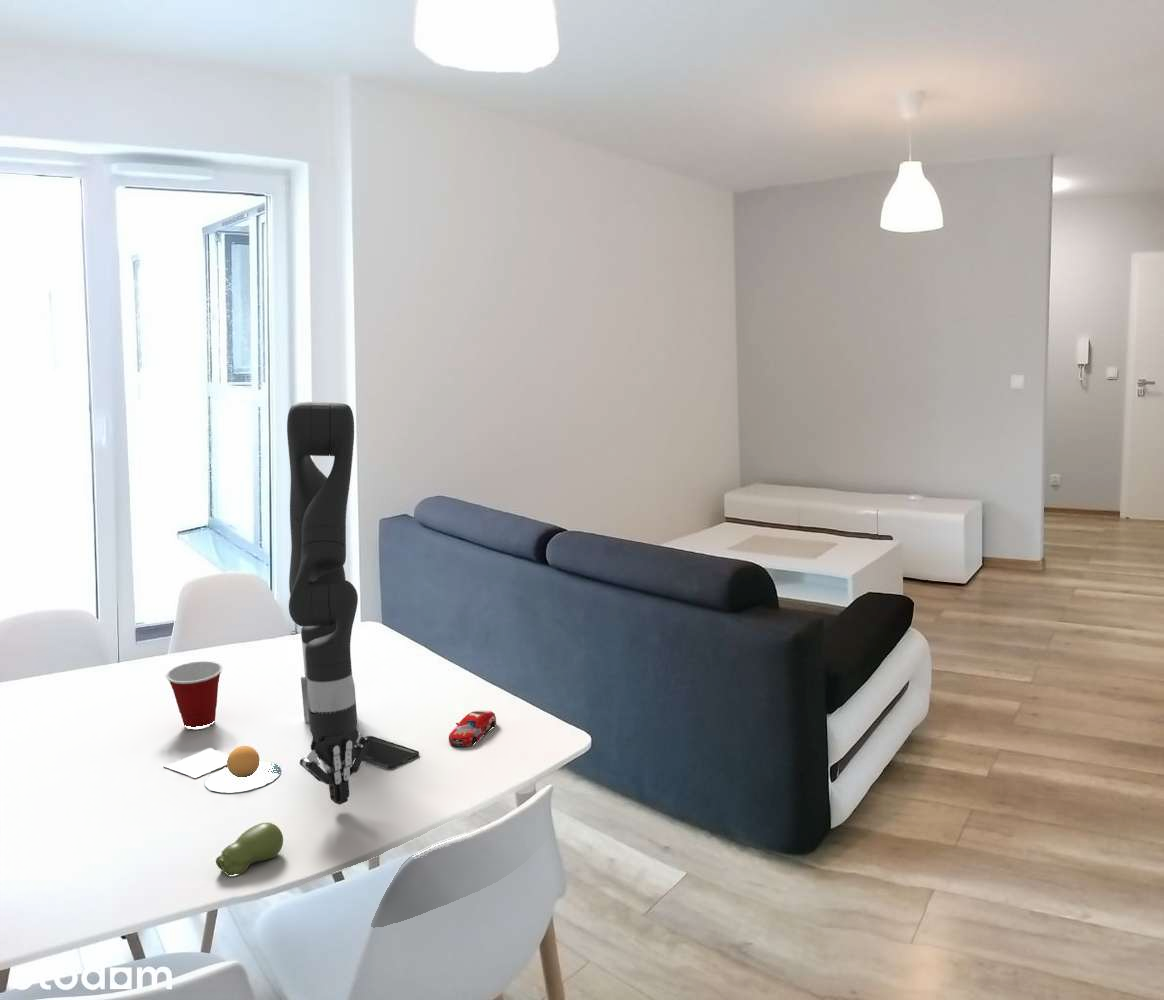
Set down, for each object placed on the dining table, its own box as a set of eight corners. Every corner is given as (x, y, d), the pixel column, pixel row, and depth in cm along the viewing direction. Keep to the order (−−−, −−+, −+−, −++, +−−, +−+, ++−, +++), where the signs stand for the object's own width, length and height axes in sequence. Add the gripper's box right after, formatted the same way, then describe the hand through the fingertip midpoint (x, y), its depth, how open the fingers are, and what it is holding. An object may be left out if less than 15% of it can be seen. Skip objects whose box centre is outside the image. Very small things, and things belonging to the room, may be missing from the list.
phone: (368, 735, 194) (421, 752, 185) (369, 740, 194) (422, 757, 185) (336, 748, 188) (389, 767, 179) (336, 754, 188) (389, 773, 179)
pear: (285, 823, 149) (223, 859, 142) (293, 853, 150) (232, 890, 144) (266, 811, 153) (205, 846, 146) (274, 841, 154) (214, 877, 147)
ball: (223, 751, 175) (239, 777, 174) (251, 735, 179) (267, 761, 178) (219, 761, 180) (235, 787, 178) (247, 746, 183) (262, 771, 182)
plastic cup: (172, 739, 197) (165, 681, 195) (170, 721, 207) (164, 666, 205) (230, 729, 202) (224, 672, 200) (225, 712, 211) (220, 657, 209)
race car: (469, 751, 187) (468, 731, 186) (444, 748, 189) (442, 728, 188) (501, 725, 199) (500, 706, 198) (477, 722, 201) (476, 703, 200)
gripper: (350, 685, 168) (358, 781, 171) (283, 709, 158) (292, 811, 161) (379, 694, 164) (386, 793, 166) (311, 719, 154) (320, 824, 156)
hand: (340, 802), depth 164 cm, fingers closed
